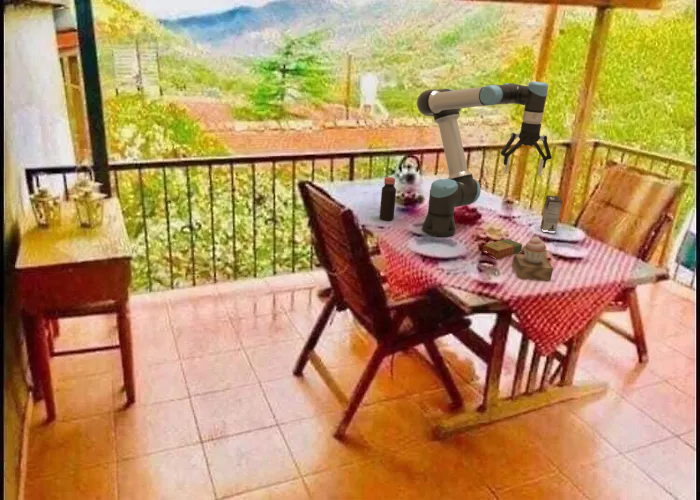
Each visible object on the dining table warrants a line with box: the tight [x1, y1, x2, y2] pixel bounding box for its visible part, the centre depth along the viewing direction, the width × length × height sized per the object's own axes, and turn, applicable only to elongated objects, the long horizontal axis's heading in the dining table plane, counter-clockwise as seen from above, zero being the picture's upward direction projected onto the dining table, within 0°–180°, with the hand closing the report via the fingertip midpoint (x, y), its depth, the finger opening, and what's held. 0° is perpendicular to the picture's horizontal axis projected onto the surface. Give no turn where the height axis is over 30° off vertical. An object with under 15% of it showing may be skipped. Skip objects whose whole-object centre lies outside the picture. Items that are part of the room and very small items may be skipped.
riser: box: [512, 253, 554, 281], centre depth 220 cm, size 12×12×5 cm
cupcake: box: [522, 236, 549, 264], centre depth 217 cm, size 9×9×10 cm
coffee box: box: [540, 194, 563, 232], centre depth 266 cm, size 9×6×16 cm
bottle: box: [379, 176, 397, 222], centre depth 267 cm, size 7×7×20 cm
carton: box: [481, 238, 523, 260], centre depth 238 cm, size 8×16×4 cm, turn 128°
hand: (522, 174), depth 234 cm, fingers open, 13 cm apart
